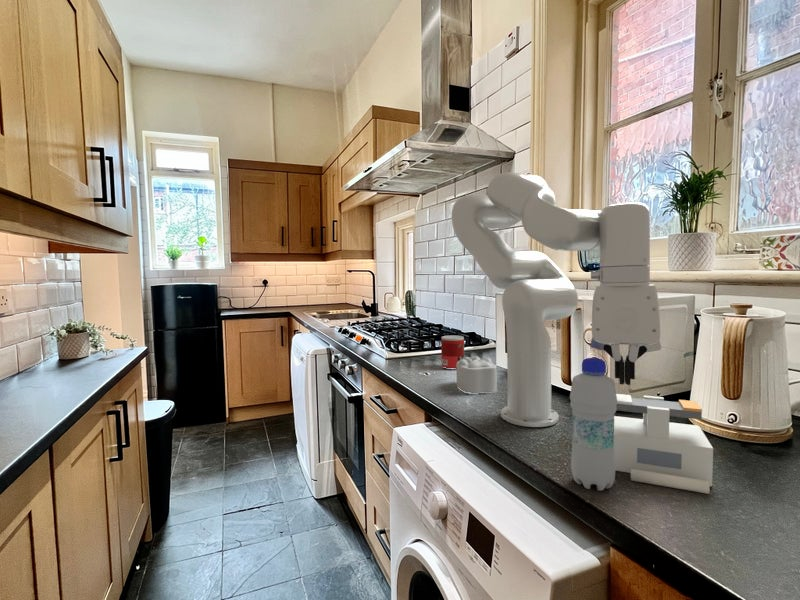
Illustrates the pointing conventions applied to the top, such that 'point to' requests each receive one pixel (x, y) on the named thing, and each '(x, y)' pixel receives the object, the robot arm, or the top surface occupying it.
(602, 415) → the bottle
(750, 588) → the top surface
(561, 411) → the top surface
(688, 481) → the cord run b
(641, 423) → the box
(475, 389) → the lumpy-topped squat cylinder
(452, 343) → the canned food
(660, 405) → the lever
